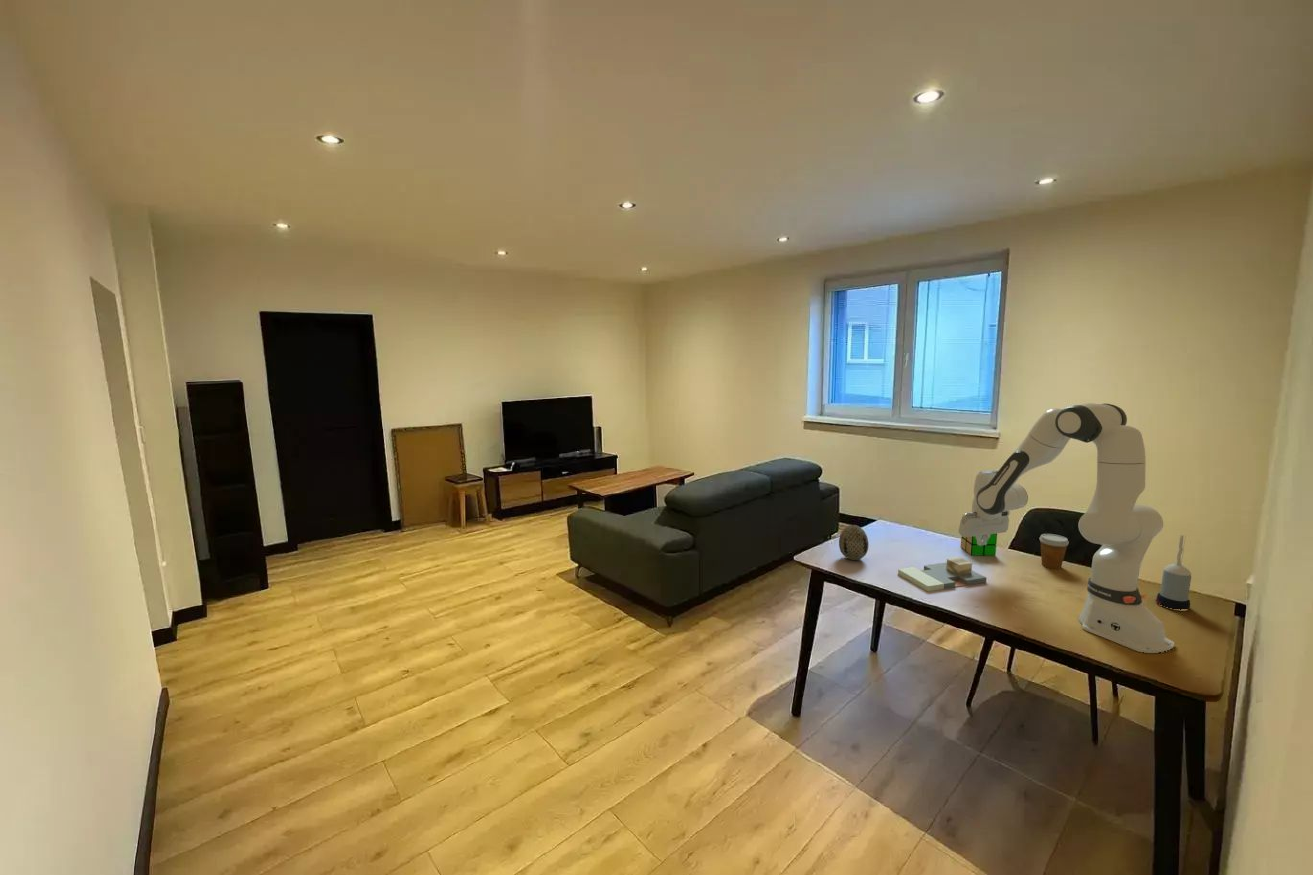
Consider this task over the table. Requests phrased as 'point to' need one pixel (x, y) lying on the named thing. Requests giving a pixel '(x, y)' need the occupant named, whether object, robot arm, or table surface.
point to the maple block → (959, 565)
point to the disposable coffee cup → (1053, 550)
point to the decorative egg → (853, 542)
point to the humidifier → (1175, 584)
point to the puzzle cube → (974, 549)
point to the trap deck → (939, 577)
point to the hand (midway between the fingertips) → (981, 544)
